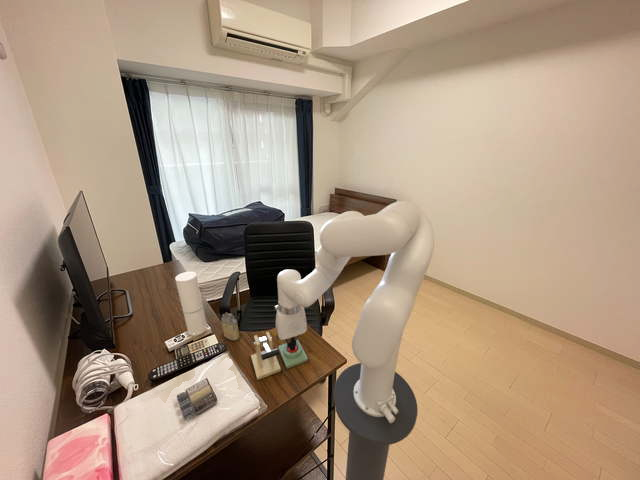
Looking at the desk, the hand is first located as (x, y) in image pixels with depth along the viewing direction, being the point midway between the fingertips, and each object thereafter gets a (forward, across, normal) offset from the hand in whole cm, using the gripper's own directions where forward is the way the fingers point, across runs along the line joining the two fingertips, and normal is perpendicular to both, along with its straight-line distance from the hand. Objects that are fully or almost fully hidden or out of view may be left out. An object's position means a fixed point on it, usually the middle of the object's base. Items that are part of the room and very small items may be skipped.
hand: (291, 347), depth 91 cm
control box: (+3, 0, 0) cm, 3 cm away
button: (+2, 0, 0) cm, 2 cm away
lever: (-7, -10, -5) cm, 13 cm away
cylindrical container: (+4, -31, +29) cm, 42 cm away
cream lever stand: (+3, -10, 0) cm, 10 cm away
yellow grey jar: (+4, -19, +19) cm, 27 cm away
